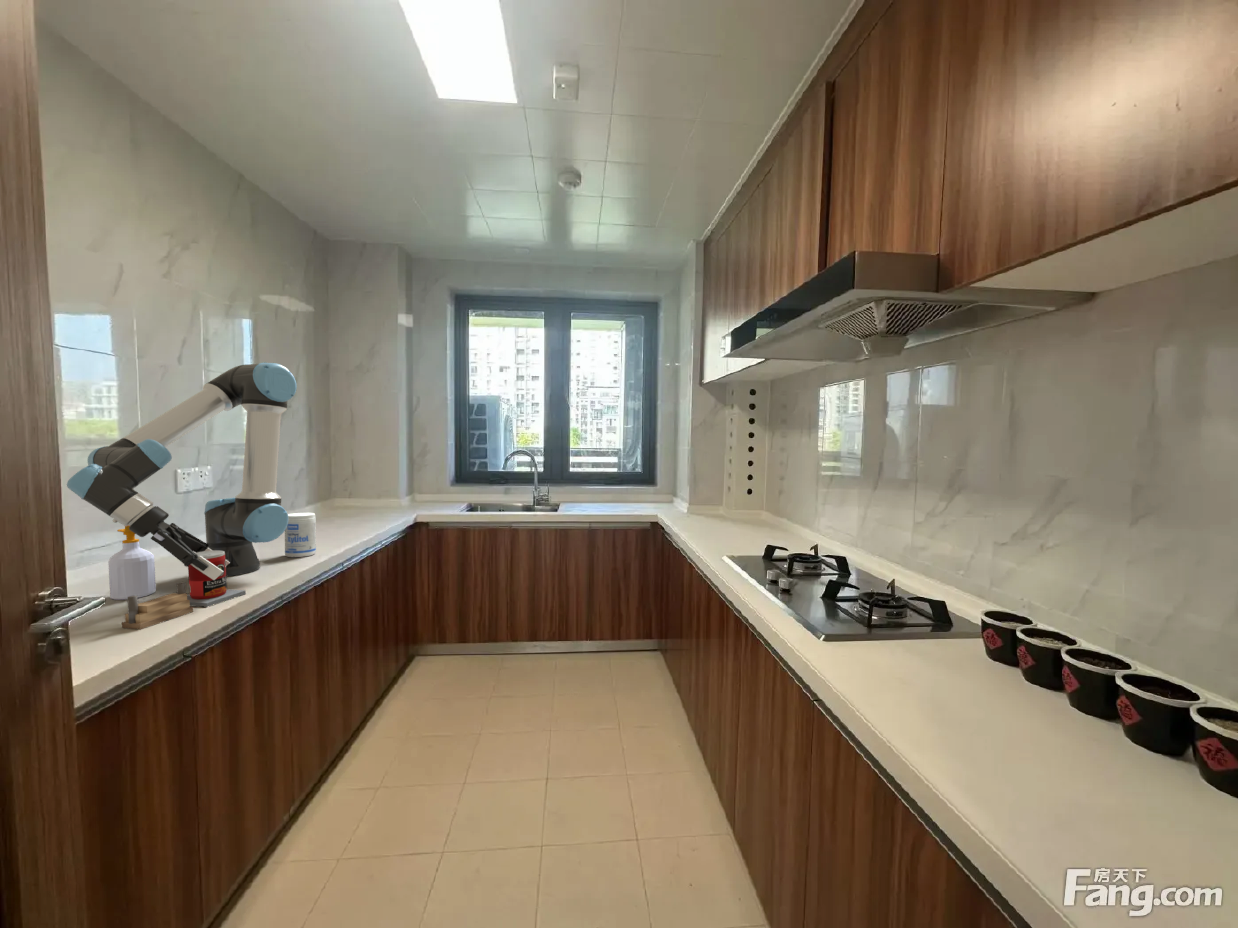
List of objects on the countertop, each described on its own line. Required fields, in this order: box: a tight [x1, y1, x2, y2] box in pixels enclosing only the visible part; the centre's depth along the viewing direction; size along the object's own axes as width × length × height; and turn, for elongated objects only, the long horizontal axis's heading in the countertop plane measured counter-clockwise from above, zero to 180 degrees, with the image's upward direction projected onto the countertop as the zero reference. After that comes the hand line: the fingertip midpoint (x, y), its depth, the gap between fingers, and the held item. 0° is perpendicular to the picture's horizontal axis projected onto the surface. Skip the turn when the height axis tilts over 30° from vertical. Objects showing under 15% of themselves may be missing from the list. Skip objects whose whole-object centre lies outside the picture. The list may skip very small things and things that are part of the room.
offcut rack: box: [121, 581, 194, 630], centre depth 123 cm, size 12×5×7 cm, turn 169°
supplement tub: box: [284, 512, 317, 558], centre depth 189 cm, size 10×10×15 cm
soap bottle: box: [107, 525, 157, 601], centre depth 141 cm, size 9×9×25 cm
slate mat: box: [187, 588, 247, 608], centre depth 138 cm, size 11×11×1 cm
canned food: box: [187, 550, 228, 599], centre depth 138 cm, size 8×8×11 cm
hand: (222, 571), depth 140 cm, fingers open, 10 cm apart
